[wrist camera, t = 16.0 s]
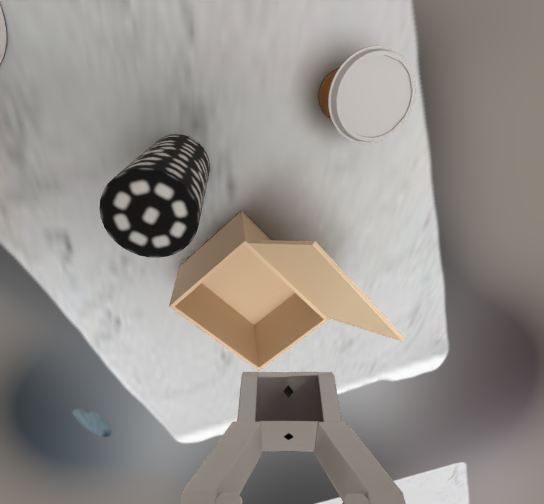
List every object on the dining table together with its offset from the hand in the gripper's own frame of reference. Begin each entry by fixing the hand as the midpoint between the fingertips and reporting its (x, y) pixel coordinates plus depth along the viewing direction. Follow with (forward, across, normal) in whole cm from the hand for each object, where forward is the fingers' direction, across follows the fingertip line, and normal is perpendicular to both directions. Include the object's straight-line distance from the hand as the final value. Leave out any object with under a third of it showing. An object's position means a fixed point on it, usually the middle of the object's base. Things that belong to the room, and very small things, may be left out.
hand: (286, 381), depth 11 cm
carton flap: (+23, +5, -16) cm, 28 cm away
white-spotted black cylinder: (+38, -14, -6) cm, 41 cm away
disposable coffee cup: (+43, +8, +2) cm, 43 cm away
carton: (+37, -5, -25) cm, 45 cm away
